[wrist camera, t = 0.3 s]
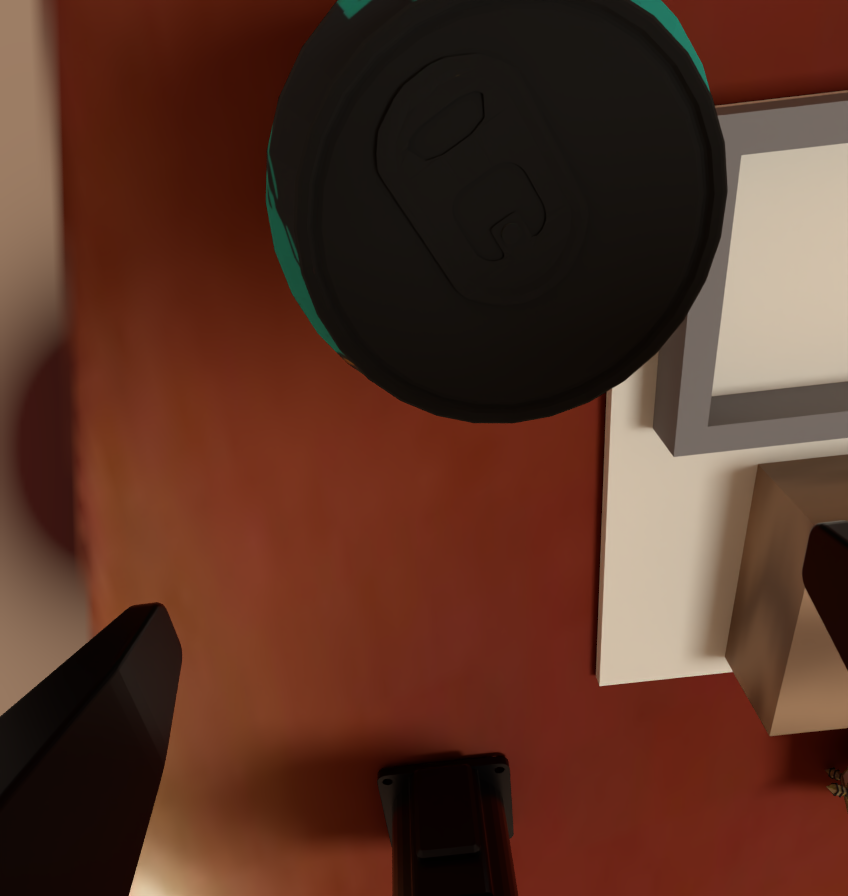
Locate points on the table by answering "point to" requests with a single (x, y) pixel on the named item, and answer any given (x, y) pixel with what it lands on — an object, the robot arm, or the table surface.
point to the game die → (844, 789)
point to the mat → (728, 394)
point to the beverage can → (496, 196)
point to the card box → (788, 601)
